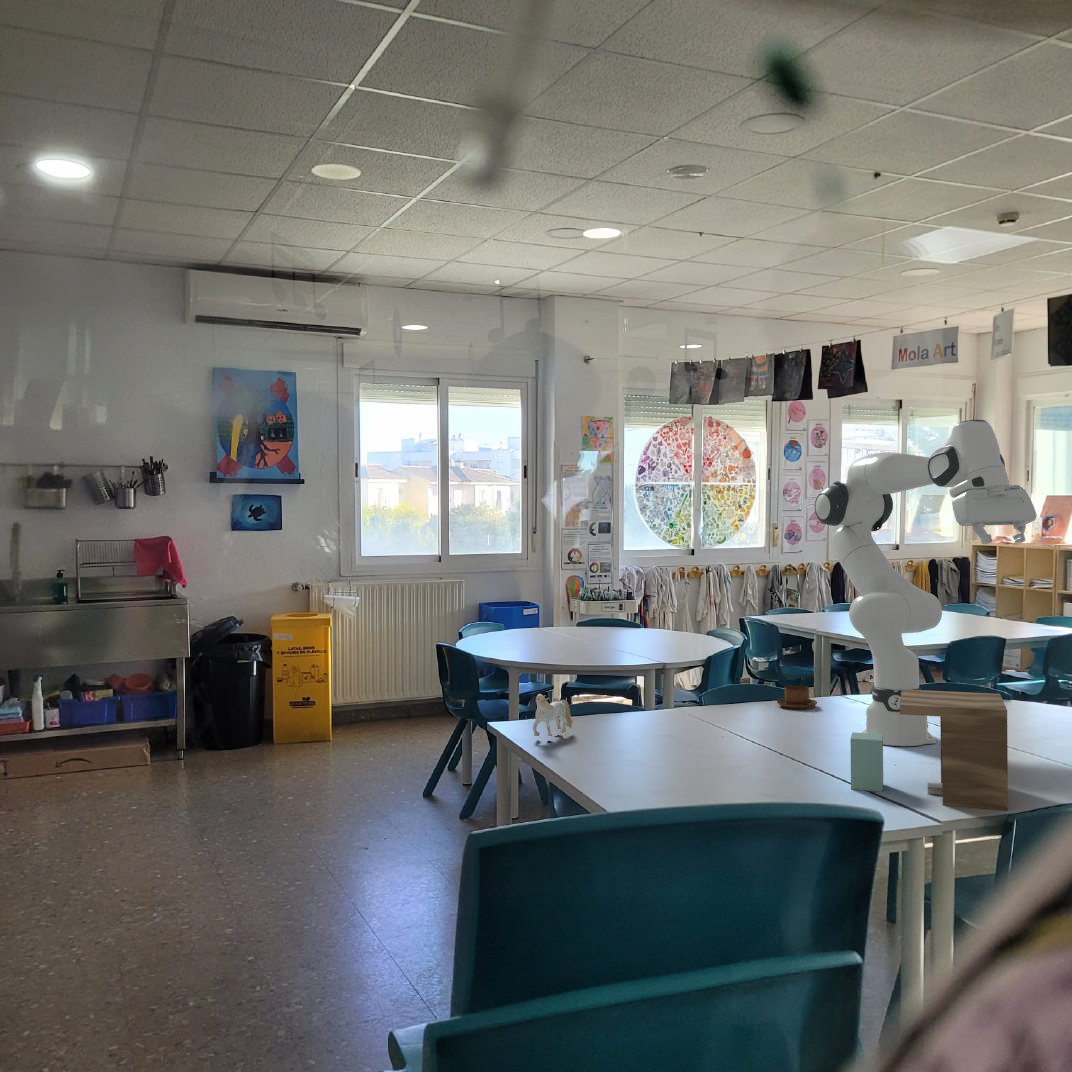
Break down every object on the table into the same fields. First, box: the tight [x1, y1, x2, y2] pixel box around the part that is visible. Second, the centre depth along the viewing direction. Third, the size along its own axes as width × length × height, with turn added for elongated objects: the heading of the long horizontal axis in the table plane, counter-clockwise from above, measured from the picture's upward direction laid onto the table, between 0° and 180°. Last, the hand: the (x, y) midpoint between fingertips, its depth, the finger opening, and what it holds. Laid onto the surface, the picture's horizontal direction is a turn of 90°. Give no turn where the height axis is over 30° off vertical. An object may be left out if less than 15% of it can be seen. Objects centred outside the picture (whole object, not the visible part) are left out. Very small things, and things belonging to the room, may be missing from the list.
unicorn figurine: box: [532, 693, 574, 737], centre depth 265 cm, size 7×20×13 cm, turn 159°
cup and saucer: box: [776, 685, 818, 710], centre depth 306 cm, size 12×12×6 cm
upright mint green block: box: [849, 731, 884, 793], centre depth 215 cm, size 6×6×11 cm
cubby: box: [900, 689, 1009, 811], centre depth 209 cm, size 19×20×20 cm
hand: (1004, 542), depth 222 cm, fingers open, 8 cm apart
